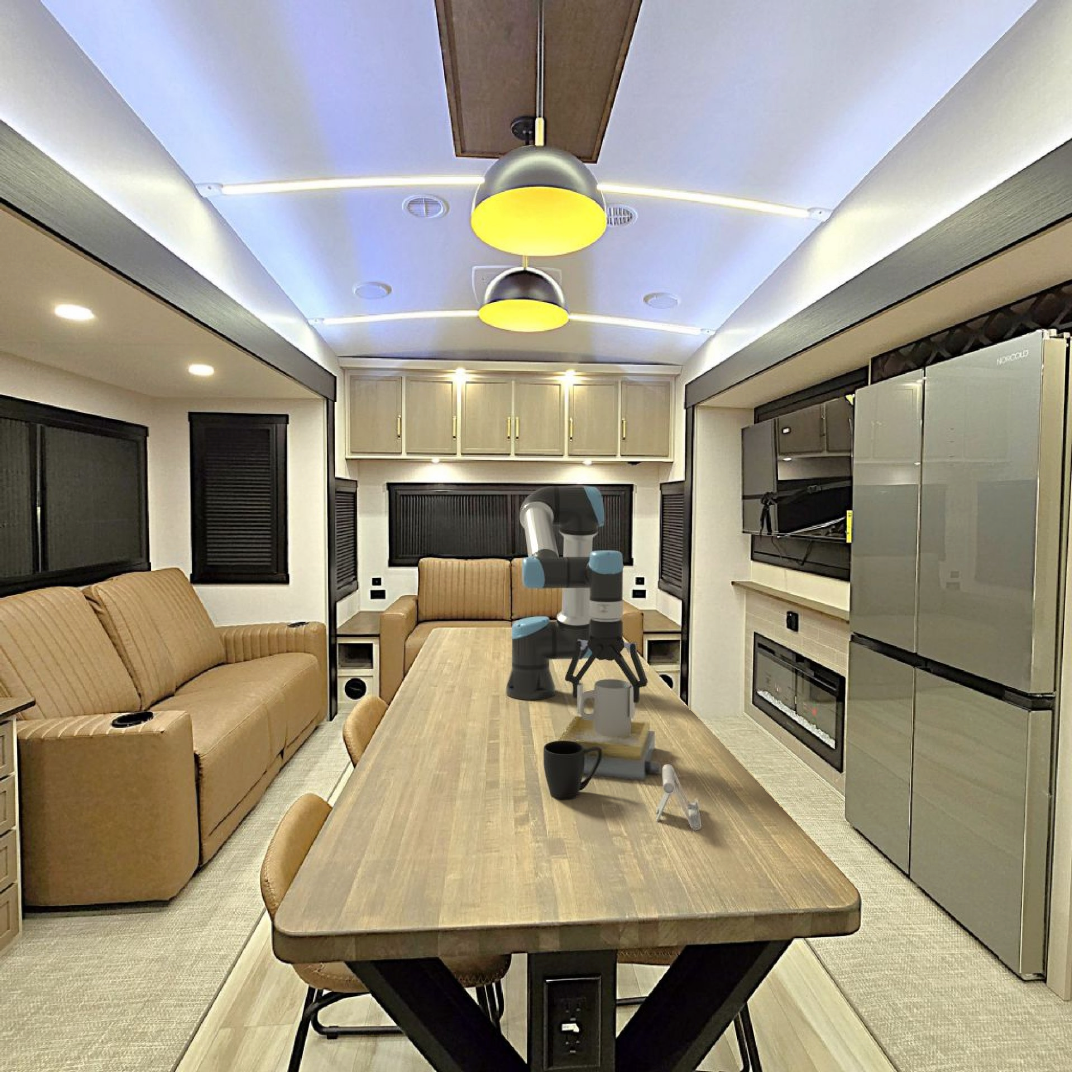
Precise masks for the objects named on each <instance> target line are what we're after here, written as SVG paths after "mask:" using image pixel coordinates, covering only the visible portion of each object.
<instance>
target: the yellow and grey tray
mask: <svg viewBox="0 0 1072 1072" xmlns="http://www.w3.org/2000/svg"><path fill="white" fill-rule="evenodd" d="M650 727H651V724H650V722H648V721H647V722H645V721H637V720H634V721H633V720H631V732H630V734H629V735H627V736H623V737H606V736H602V735H599V734H597V733H595V731H594V721H587V720H584V719H583V718H582V717H581V716H577V715H575V716H574V717H573V718H572V720H571V722H569V724H568V725H567V727H566V729H565V730H564V731H563V733H562V734H561V735H560V736H559V738H558V739H557V741H573V742H577V743H580V744H582V745H583V746H584V748H585V749H586V748H590V747H599V748H601V750H602V759H601V762H600V764H599V766H598V768H597V769H596V771H595V773H594V775H593V776H598V777H606V778H614V779H615V778H617V779H623V780H625V779H626V780H634V781H642V782H645V780H646V777H647V774H656V775H659V774H660V772H661V771H660V770H661V764H660V763H661V762H659V761H653V760H652V757H653V754H654V751H655V748H656V747H655V742H656V741H655V740H656V739H655V738H656V735H655V731H654V730H653V731H652V730H650V729H651V728H650ZM597 757H598V751H590V752H588V753H585V762H584V771H583V775H586V776H588V775H589V773H590V772H591V770H592V768H593V766H594V764H595V762H596V760H597ZM651 760H652V761H651Z"/></svg>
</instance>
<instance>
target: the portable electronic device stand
mask: <svg viewBox="0 0 1072 1072" xmlns="http://www.w3.org/2000/svg"><path fill="white" fill-rule="evenodd" d="M675 770H676V769H674V767H673V766H672V764H664V765H663V766H662V790H663V792H664V793H663V795H662V797H661V800H660V802H659V803H658V806H657V808H656V811H655V814H657V816H656V818H655V821H656V822H659V820H660V818H661V816H662V814H663V811H664V809H665V807H666V805H667V803H668V801H669V799H670V796H671V795H672V794H675V795H676V797H677V799H678V800H679V804H680V805H681V808H682V811H683V813H684V815H685V817H686V819H687V821H688V824H689V825H690V828H691V829H692V830H694V831H698V830H700V829H701V828H702V820H701V814H700V807H699V800H698V797H696V798H695V799H694V802H691V803H690V801H689V800H688V798H687V796H686V794H685V792H684V789H683V787H682V785H681V783H680V780H679V778H678V776H677V773H676V771H675ZM675 782H676V783H675ZM677 786H678V788H677ZM678 789H679V790H678ZM679 791H680V792H679ZM680 793H681V794H680ZM681 795H682V797H681ZM682 798H683V799H684V802H685V804H686V806H685V804H684V802H683V799H682ZM686 807H687V808H686ZM687 809H688V811H687Z"/></svg>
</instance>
